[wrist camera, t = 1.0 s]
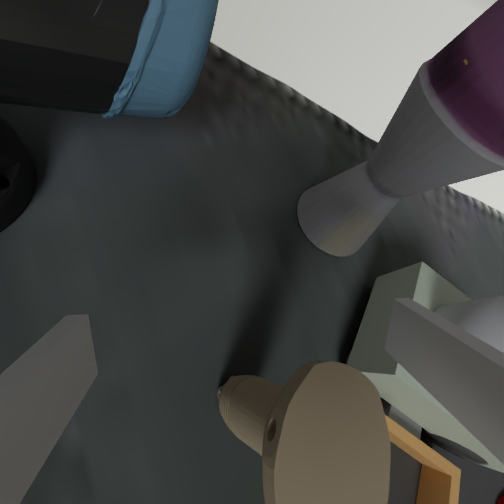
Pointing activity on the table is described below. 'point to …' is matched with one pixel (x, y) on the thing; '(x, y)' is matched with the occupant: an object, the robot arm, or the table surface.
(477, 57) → the lamp
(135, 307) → the table surface
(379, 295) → the grey and tan pieces
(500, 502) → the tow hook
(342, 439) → the handle
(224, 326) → the table surface
